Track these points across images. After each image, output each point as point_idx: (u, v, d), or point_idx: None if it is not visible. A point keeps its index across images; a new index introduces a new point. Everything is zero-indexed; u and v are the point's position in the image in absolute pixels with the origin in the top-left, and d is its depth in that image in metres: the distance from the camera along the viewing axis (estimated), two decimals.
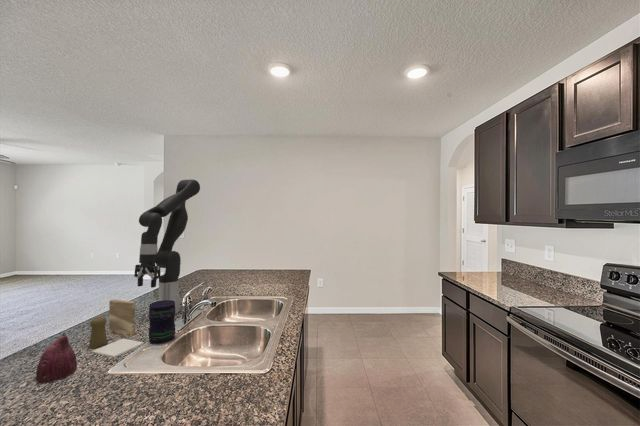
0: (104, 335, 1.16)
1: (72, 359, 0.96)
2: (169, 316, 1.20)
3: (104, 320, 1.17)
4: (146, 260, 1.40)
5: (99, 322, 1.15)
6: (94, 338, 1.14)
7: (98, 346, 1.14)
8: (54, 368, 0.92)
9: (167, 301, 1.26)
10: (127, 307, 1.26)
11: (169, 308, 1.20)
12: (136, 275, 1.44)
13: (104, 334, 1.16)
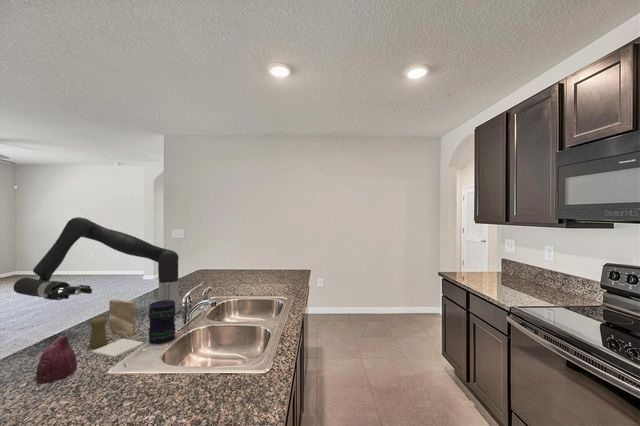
0: (104, 335, 1.16)
1: (72, 359, 0.96)
2: (169, 316, 1.20)
3: (104, 320, 1.17)
4: None
5: (99, 322, 1.15)
6: (94, 338, 1.14)
7: (98, 346, 1.14)
8: (54, 368, 0.92)
9: (167, 301, 1.26)
10: (127, 307, 1.26)
11: (169, 308, 1.20)
12: None
13: (104, 334, 1.16)
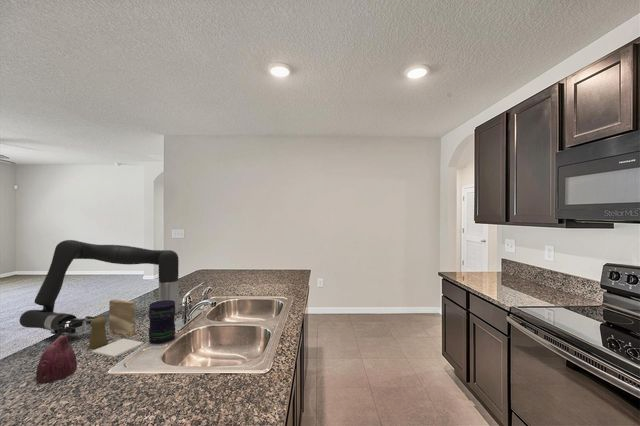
0: (104, 335, 1.16)
1: (72, 359, 0.96)
2: (169, 316, 1.20)
3: (104, 320, 1.17)
4: None
5: (99, 322, 1.15)
6: (94, 338, 1.14)
7: (98, 346, 1.14)
8: (54, 368, 0.92)
9: (167, 301, 1.26)
10: (127, 307, 1.26)
11: (169, 308, 1.20)
12: None
13: (104, 334, 1.16)
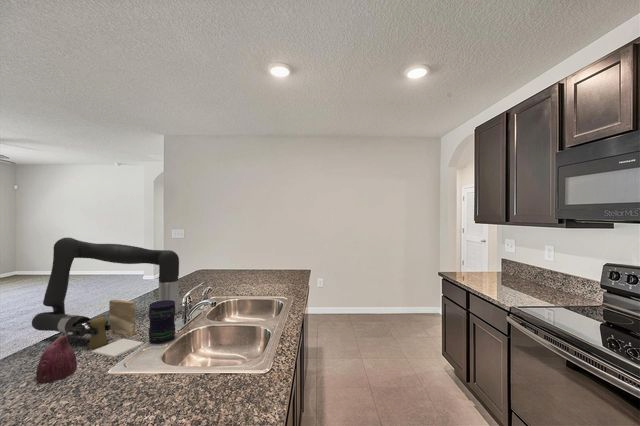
0: (104, 335, 1.17)
1: (72, 359, 0.96)
2: (169, 316, 1.20)
3: (104, 320, 1.17)
4: None
5: (99, 321, 1.15)
6: (94, 338, 1.14)
7: (98, 346, 1.14)
8: (54, 368, 0.92)
9: (167, 301, 1.26)
10: (127, 307, 1.26)
11: (169, 308, 1.20)
12: None
13: (104, 334, 1.16)
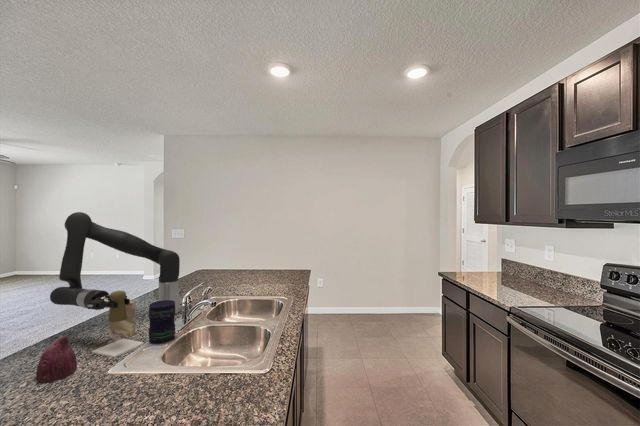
0: (124, 309, 1.14)
1: (72, 359, 0.96)
2: (169, 316, 1.20)
3: (124, 293, 1.14)
4: None
5: (119, 295, 1.13)
6: (113, 311, 1.12)
7: (118, 319, 1.12)
8: (54, 368, 0.92)
9: (167, 301, 1.26)
10: (127, 307, 1.26)
11: (169, 308, 1.20)
12: None
13: (123, 308, 1.14)
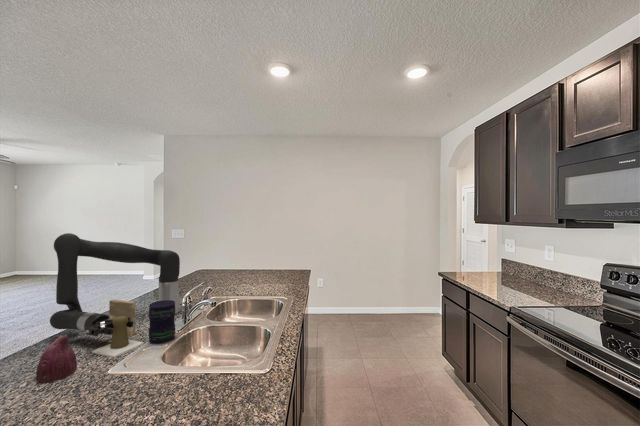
0: (126, 334, 1.15)
1: (72, 359, 0.96)
2: (169, 316, 1.20)
3: (126, 319, 1.16)
4: None
5: (121, 320, 1.14)
6: (116, 337, 1.13)
7: (120, 345, 1.13)
8: (54, 368, 0.92)
9: (167, 301, 1.26)
10: (127, 307, 1.26)
11: (169, 308, 1.20)
12: None
13: (125, 333, 1.15)
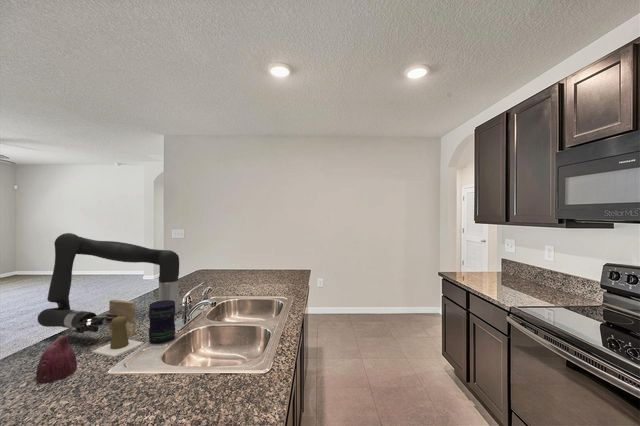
0: (125, 334, 1.15)
1: (72, 359, 0.96)
2: (169, 316, 1.20)
3: (125, 319, 1.15)
4: None
5: (120, 320, 1.14)
6: (115, 337, 1.13)
7: (120, 345, 1.13)
8: (54, 368, 0.92)
9: (167, 301, 1.26)
10: (127, 307, 1.26)
11: (169, 308, 1.20)
12: None
13: (125, 333, 1.15)
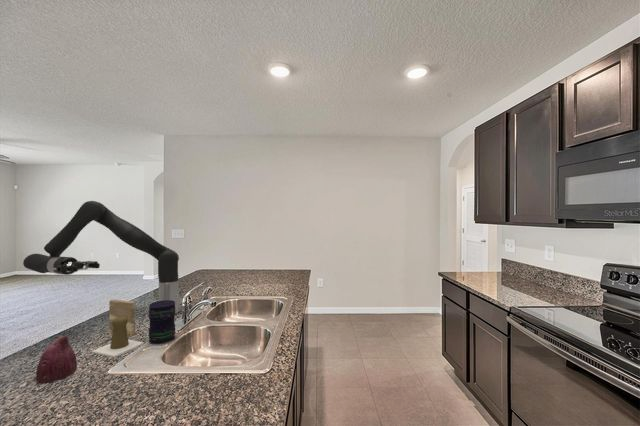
0: (125, 335, 1.15)
1: (72, 359, 0.96)
2: (169, 316, 1.20)
3: (125, 320, 1.15)
4: (61, 273, 1.25)
5: (121, 321, 1.13)
6: (115, 338, 1.13)
7: (120, 346, 1.13)
8: (54, 368, 0.92)
9: (167, 301, 1.26)
10: (127, 307, 1.26)
11: (169, 308, 1.20)
12: None
13: (125, 334, 1.15)
